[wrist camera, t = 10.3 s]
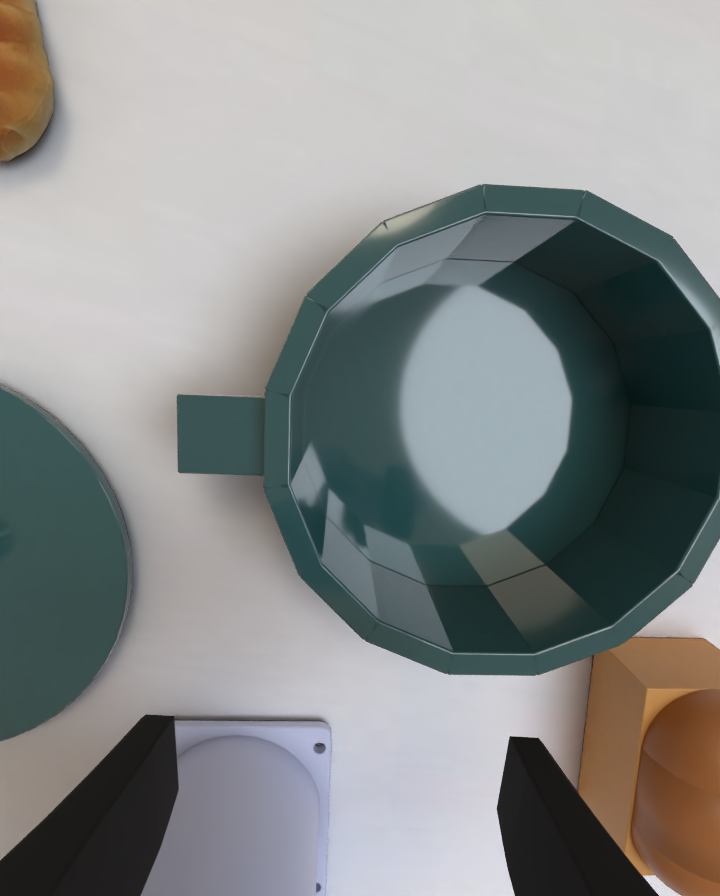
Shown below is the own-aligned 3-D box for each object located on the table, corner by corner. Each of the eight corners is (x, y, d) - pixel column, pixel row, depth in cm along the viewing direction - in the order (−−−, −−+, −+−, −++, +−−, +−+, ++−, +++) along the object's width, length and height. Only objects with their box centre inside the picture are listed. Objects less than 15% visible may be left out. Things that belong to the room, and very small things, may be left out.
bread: (680, 796, 23) (801, 945, 17) (576, 797, 22) (661, 947, 16) (704, 638, 22) (843, 736, 16) (595, 636, 21) (694, 736, 15)
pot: (677, 602, 21) (793, 679, 16) (217, 593, 20) (172, 672, 15) (726, 255, 19) (879, 206, 14) (216, 227, 18) (164, 163, 13)
